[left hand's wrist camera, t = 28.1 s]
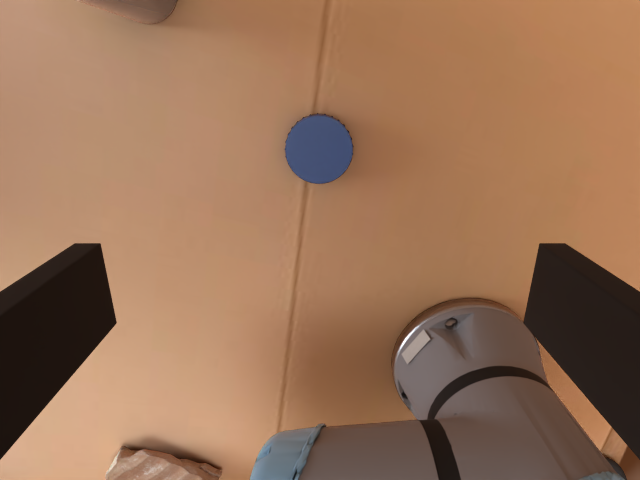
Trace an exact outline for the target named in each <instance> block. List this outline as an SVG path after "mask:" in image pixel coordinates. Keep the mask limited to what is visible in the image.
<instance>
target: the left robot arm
mask: <svg viewBox="0 0 640 480" xmlns="http://www.w3.org/2000/svg"><path fill="white" fill-rule="evenodd" d="M116 323H117V322H116V318H115V313H114V308H113V303H112V298H111V293H110V288H109V283H108V278H107V273H106V268H105V263H104V258H103V253H102V249H101V244H100V243H75V244H73V245H72V246H70V247H69V248H67V249H66V250H64V251H62V252H61V253H59V254H58V255H56V256H55V257H53V258H52V259H50V260H49V261H47V262H45V263H44V264H42V265H41V266H39V267H38V268H36V269H35V270H33V271H32V272H30V273H29V274H27V275H25V276H24V277H22V278H21V279H19V280H18V281H16V282H15V283H13V284H12V285H10V286H8V287H7V288H5V289H4V290H2V291H1V292H0V459H1V458H2V457H3V456H4V455H5V453H6V452H7V451H8V450H9V449H10V448H11V446H12V445H13V444H14V443H15V442H16V441H17V439H18V438H19V437H20V436H21V435H22V434H23V432H24V431H25V430H26V429H27V428H28V426H29V425H30V424H31V423H32V422H33V421H34V419H35V418H36V417H37V416H38V415H39V414H40V412H41V411H42V410H43V409H44V408H45V407H46V405H47V404H48V403H49V402H50V401H51V400H52V398H53V397H54V396H55V395H56V394H57V392H58V391H59V390H60V389H61V388H62V387H63V385H64V384H65V383H66V382H67V381H68V380H69V378H70V377H71V376H72V375H73V374H74V373H75V371H76V370H77V369H78V368H79V367H80V366H81V364H82V363H83V362H84V361H85V360H86V358H87V357H88V356H89V355H90V354H91V353H92V351H93V350H94V349H95V348H96V347H97V346H98V344H99V343H100V342H101V341H102V340H103V339H104V337H105V336H106V335H107V334H108V333H109V331H110V330H111V329H112V328H113V327H114V326H115V324H116ZM535 337H536V339H537V340H538V341H539V342H540V343H541V344H542V346H543V347H544V348H545V349H546V350H547V351H548V353H549V354H550V355H551V356H552V357H553V358H554V360H555V361H556V362H557V363H558V364H559V366H560V367H561V368H562V369H563V370H564V371H565V373H566V374H567V375H568V376H569V377H570V378H571V380H572V381H573V382H574V383H575V384H576V385H577V387H578V388H579V389H580V390H581V391H582V392H583V394H584V395H585V396H586V397H587V398H588V400H589V401H590V402H591V403H592V404H593V405H594V407H595V408H596V409H597V410H598V411H599V412H600V414H601V415H602V416H603V417H604V418H605V419H606V421H607V422H608V423H609V424H610V425H611V426H612V428H613V429H614V430H615V431H616V432H617V434H618V435H619V436H620V437H621V438H622V439H623V441H624V442H625V443H626V444H627V445H628V446H629V448H630V449H631V450H632V451H633V452H634V453H635V455H636V456H637V457H638V458H639V459H640V292H639V291H638V290H636V289H635V288H633V287H632V286H630V285H628V284H627V283H625V282H624V281H622V280H621V279H619V278H618V277H616V276H615V275H613V274H611V273H610V272H608V271H607V270H605V269H604V268H602V267H601V266H599V265H598V264H596V263H595V262H593V261H591V260H590V259H588V258H587V257H585V256H584V255H582V254H581V253H579V252H578V251H576V250H574V249H573V248H571V247H570V246H568V245H567V244H565V243H540V244H539V249H538V253H537V258H536V263H535V268H534V273H533V278H532V283H531V288H530V293H529V298H528V303H527V308H526V313H525V318H524V322H523V321H522V320H521V319H520V318H519V317H518V316H517V315H516V314H515V313H514V312H513V311H511V310H510V309H508V308H507V307H505V306H503V305H501V304H499V303H496V302H493V301H489V300H484V299H475V298H465V299H456V300H451V301H447V302H444V303H441V304H438V305H436V306H434V307H432V308H429V309H428V310H426V311H424V312H423V313H421V314H420V315H418V316H417V317H416V318H415V319H413V320H412V321H411V322H410V323H409V324H408V325H407V326H406V328H405V329H404V330H403V331H402V333H401V335H400V336H399V338H398V340H397V342H396V344H395V347H394V350H393V354H392V373H393V377H394V381H395V385H396V389H397V391H398V394H399V396H400V398H401V399H402V401H403V402H404V403H405V405H406V406H407V407H408V408H409V409H410V411H411V412H412V413H413V415H414V416H415V417H416V418H417V420H408V421H395V422H383V423H370V424H357V425H344V426H330V427H326V425H325V424H318V425H317V426H316V427H312V428H304V429H296V430H288V431H283V432H279V433H277V434H275V435H273V436H272V437H271V438H270V439H269V440H268V441H267V442H266V443H265V444H264V446H263V447H262V449H261V451H260V452H259V455H258V457H257V459H256V462H255V465H254V467H253V470H252V473H251V477H250V480H627V479H626V476H625V474H624V472H623V470H622V469H621V467H620V466H619V465H618V464H617V463H616V462H614V461H613V460H611V459H609V458H607V457H604V456H603V455H602V453H601V452H600V451H599V449H598V448H597V447H596V445H595V444H594V443H593V442H592V440H591V439H590V438H589V436H588V435H587V434H586V433H585V431H584V430H583V429H582V427H581V426H580V425H579V423H578V422H577V421H576V420H575V418H574V417H573V416H572V414H571V413H570V412H569V411H568V409H567V408H566V407H565V405H564V404H563V403H562V401H561V400H560V399H559V398H558V396H557V395H556V394H555V393H554V391H553V390H552V389H551V387H550V386H549V385H548V382H547V378H546V375H545V372H544V368H543V365H542V362H541V356H540V351H539V346H538V343H537V341H536V339H535Z"/></svg>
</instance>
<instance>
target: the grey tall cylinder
mask: <svg viewBox="0 0 640 480" xmlns="http://www.w3.org/2000/svg"><path fill="white" fill-rule="evenodd" d="M76 1H79V2H82V3H85V4H87V5H90V6H93V7H96V8H99V9H102V10H105V11H108V12H111V13H114V14H117V15H119V16H122V17H125V18H128V19H131V20H134V21H137V22H140V23H144V24H154V23H158V22H161V21H163V20H164V19H166V18H167V17H168V16H169V15H170V14H171V13H172V11H173V9H174V7H175V5H176V2H177V0H76Z"/></svg>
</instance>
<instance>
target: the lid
mask: <svg viewBox="0 0 640 480" xmlns="http://www.w3.org/2000/svg"><path fill="white" fill-rule="evenodd" d="M291 129H292V130H291V132H290V133H289V134H288V138H287V140H286V142H285V143H286V148H285V152H286V158H287V161H288V164H289V166H290V168H291V169H292V171H293V172H294V173H295V174H296V175H297V176H299V177H300V178H301V179H303V180H305V181H307V182H310V183H316V184H322V183H328V182H331V181H333V180H335V179H337V178H338V177H340V176H341V175H342V174H343V173H344V172H345V171H346V169H347V168H348V166H349V164H350V162H351V159H352V155H353V145H352V141H351V140H352V138H351V137H350V135H349V131H348V130H346V128H345V125H344V124H342V123H340V122H339V120H337V119H335V118H333V116H328V115H326V114H324V115H323V114H318V113H317V114H316V115H311V114H310V116H307V117H305V118H304V117H303V119H302V120H300V121H299V122H298V121H297V124H296V125H295V126H294V127H292V128H291Z"/></svg>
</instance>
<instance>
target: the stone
mask: <svg viewBox="0 0 640 480" xmlns="http://www.w3.org/2000/svg"><path fill="white" fill-rule="evenodd" d="M221 474H222V471H221V470H219V469H216V468H214V467H212V466H211V465H209V464H207V463H197V462H194V461H191V460H188V459H177V458H176V457H174V456H172V455H171V454H167V453H162V452H159V451H150V450H148V449H143V450H140V451H135V450H130V449H128V448H127V447H125V446H122V447H121V449H120V450H119V452H118V454H117V456H116V457H115V458H114V460H113V462H112V464H111V466H110V468H109V469H108V471H107V472H106V480H218V479H219V478H220V477H221Z"/></svg>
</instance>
